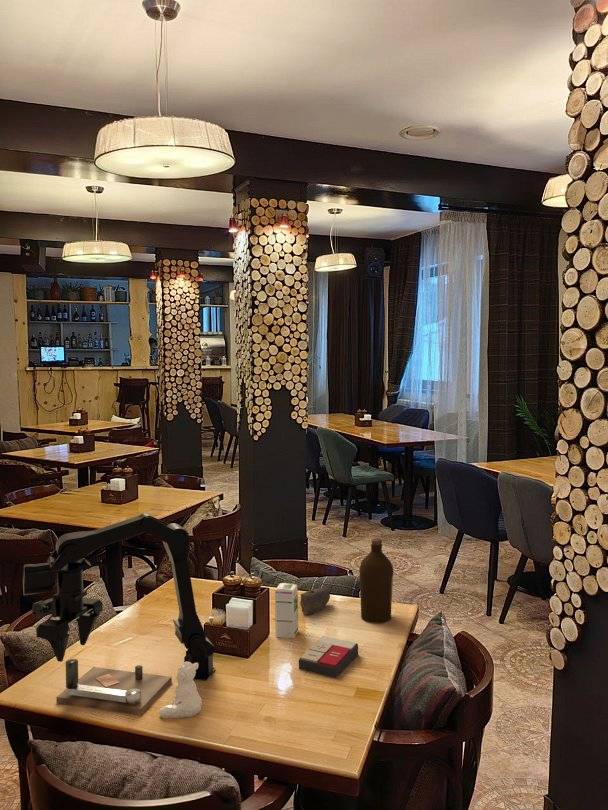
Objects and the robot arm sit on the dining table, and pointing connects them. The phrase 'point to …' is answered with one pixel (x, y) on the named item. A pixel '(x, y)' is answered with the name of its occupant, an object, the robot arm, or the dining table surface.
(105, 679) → the board
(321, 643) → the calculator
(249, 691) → the dining table surface
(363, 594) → the olive oil
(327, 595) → the perforated stone tool
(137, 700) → the lever
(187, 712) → the sitting furry creature
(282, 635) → the syrup box
